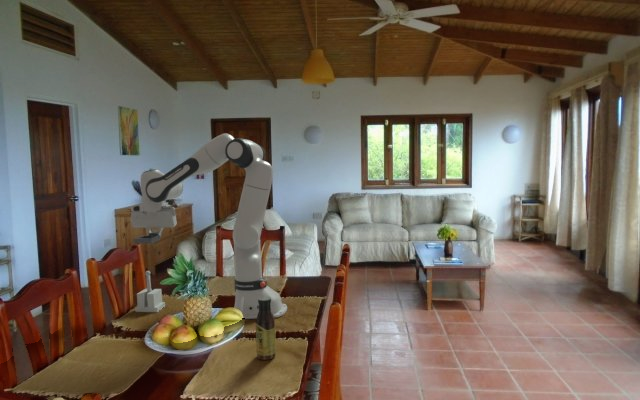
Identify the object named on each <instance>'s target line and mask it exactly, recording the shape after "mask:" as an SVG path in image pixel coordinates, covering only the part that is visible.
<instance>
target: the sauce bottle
mask: <svg viewBox="0 0 640 400" xmlns="http://www.w3.org/2000/svg"><path fill="white" fill-rule="evenodd" d="M258 303H259V312H258V316H257V318H255V319H256V321H255V341H256V342H255V343H256V354H257V355H256V356H257V358H258V359H260V360H262V361H266V360H271V359H274V358H275V357H276V354H277V353H276V350H277V347H276V346H277V345H276V343H277V341H276V325H275V324H276V322H275V320H276V319H275V317H274V316H273V314H272V313H271V305H270V303H271V298H270V297H268V296H263V297H260V298H259V299H258Z"/></svg>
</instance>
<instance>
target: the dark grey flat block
mask: <svg viewBox="0 0 640 400" xmlns="http://www.w3.org/2000/svg"><path fill="white" fill-rule="evenodd" d="M158 231H159V230H153V231H151V233H149V234H146V235H145V234H143V235H141V236H137V237H135V238H133V244H155V243H156V242H159V241H161V239H162V238H161V237H162V234H161V235H156V233H158Z"/></svg>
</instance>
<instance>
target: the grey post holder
mask: <svg viewBox="0 0 640 400" xmlns="http://www.w3.org/2000/svg"><path fill="white" fill-rule="evenodd" d="M144 275H145V277H146V278H145V279H146V288H144V289H143V290H141V291H139V292H138V293H136V301H137V306H135V307H134V308H135V309H134V310H135V312H136V313H158V312H160V311H161V310H163V309H164V308H165V307H166V302H165V301H163V295H162V294H163V293H162V288H154V289H152V284H151V271H150V270H146V271H145V272H144ZM163 307H164V308H163ZM162 308H163V309H162ZM159 310H160V311H159Z"/></svg>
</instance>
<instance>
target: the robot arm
mask: <svg viewBox="0 0 640 400" xmlns="http://www.w3.org/2000/svg"><path fill="white" fill-rule="evenodd" d="M265 160H266V151H265V148H264V147H263V146H261V145H260V144H259V143H256V142H254V141H252V140H250V139H245V138H241V137H236V138H235V137H234V136H233V135H231V134H229V133H226V132H225V133H221V134H220V135H217V136H216V137H214V138H212V139H210V140H209V141H208V142H206V143H204V144H203V145H202V146H201V147H200V148H199V149H197V150H196V151H195V152H194V153H193V154H191V155H190V156H189V157H188V158H186V159H184V161H182V162H181V163H180V164H178V165H177V166H175V167H174V168H172V169H171V170H169V171H168V172H167V173H163V172H162V171H160V170H159V169H151V170H150V169H149V170H144V171H143V172H142V173H141V176H140V192H141V203H139V204H137V205H133V206H131V208H130V211H131V213H130V226H131V227H132V228H134V229H135V228H137V229H138V228H139V229H140V228H141V229H142V228H145V231H146V233H147V235H149V233H151V232H152V228H157V231H158V233H156V235H161V236H162V233H163V230H164V228H174V227H176V226H177V224H178V222H177V216H176V208H175V207H173V206H170V205H169V206H167V205H165V206H164V201H168V200H174V199H176V198H178V197H180V196H181V195H182V194H183V191H184V185H183V182H184V181H185V180H187V179H188V178H190V177H194V176H197V175H202V174H208V173H211V172H212V171H215V170H216V169H219V168H220V167H222V166H223V165H224V164H225V163H227V162H231V163H232V164H233V165H235V166H237V167H238V168H239V169H244V171H245V178H244V181H243V187H242V191H241V195H240V199H239V204H238V208H237V214H236V215H235V216H236V217H235V221H234V225H233V227H232V228H233V229H232V241H233V256H234V258H233V259H234V277H235V278H234V282H233V283H234V284H233V285H234V287H233V288H234V292H235V299H234V307H233V309H234V308H237V309H239V310H240V311H241V312H242V314H243V316H244V318H245V319H244V320H250V319H257V316H258V312H259V303H258V299H259V298H260V297H263V296H268V297H270V298H271V303H270V305H271V313H272V314H273V316H274V318H279V317H282V316H284V315H285V313H287V311H288V306H287V304H286V303H283V302H282V298H281V295H280V294H279V293H278V292H277V291H276V290H274V289H273V288H271V287H270V286H268V278H265V277H264V276H263V272H262V271H263V270H262V269H263V268H262V266H263V265H262V252H261V235H262V231H263V225H264V220H265V215H266V210H267V205H268V201H269V197H270V192H271V188H272V184H273V183H272V182H273V176H274V175H273V173H274V170H273V166H272V165H271V163H269V162H268V161H265Z"/></svg>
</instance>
